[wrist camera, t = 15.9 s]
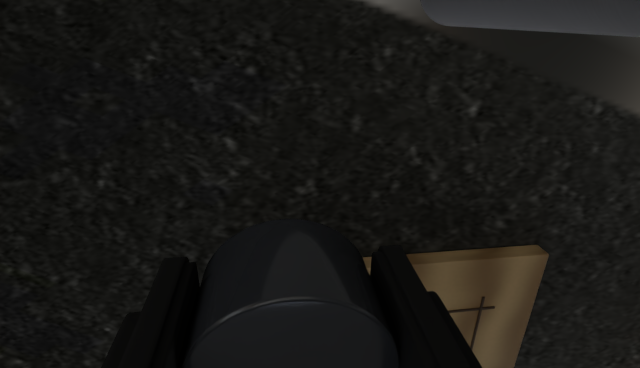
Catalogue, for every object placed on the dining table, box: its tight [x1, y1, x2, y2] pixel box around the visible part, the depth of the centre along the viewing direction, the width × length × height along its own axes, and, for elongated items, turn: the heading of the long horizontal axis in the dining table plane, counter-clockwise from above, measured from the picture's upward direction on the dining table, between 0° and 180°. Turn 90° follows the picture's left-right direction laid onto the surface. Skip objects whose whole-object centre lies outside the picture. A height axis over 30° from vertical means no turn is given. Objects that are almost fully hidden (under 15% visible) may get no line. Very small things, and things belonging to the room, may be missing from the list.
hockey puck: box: [181, 219, 400, 368], centre depth 9 cm, size 5×5×3 cm
